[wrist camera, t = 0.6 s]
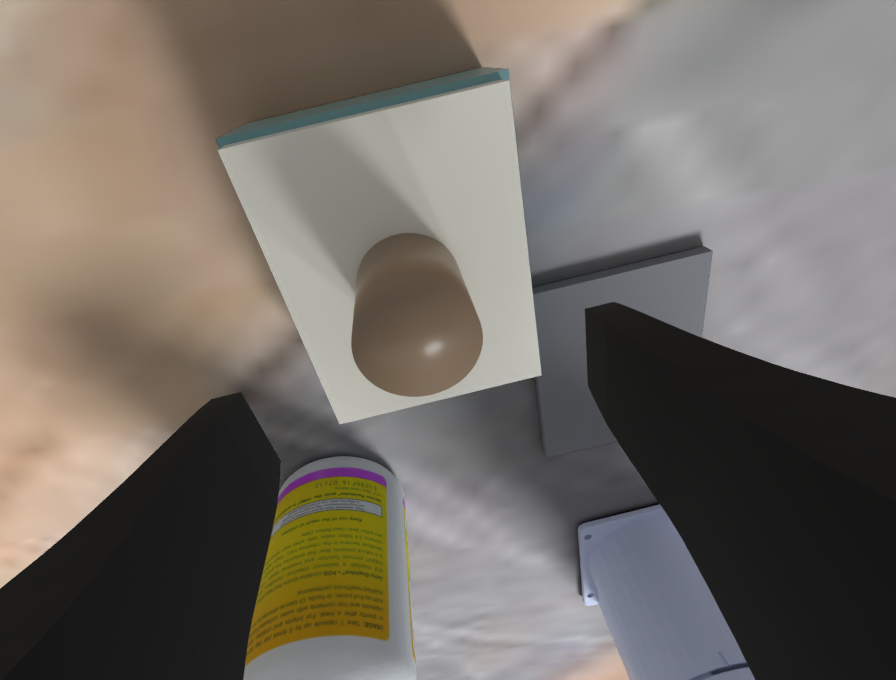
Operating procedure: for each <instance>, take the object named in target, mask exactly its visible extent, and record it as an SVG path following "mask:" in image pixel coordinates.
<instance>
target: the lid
mask: <svg viewBox="0 0 896 680" xmlns="http://www.w3.org/2000/svg"><path fill="white" fill-rule="evenodd" d="M218 153H219V155H220V157H221V159H222V162H223V164H224V166H225V168H226V171H227V173H228V175H229V177H230V180H231V182H232V184H233V186H234V189H235V191H236V193H237V195H238V198H239V200H240V202H241V204H242V206H243V209H244V211H245V213H246V215H247V218H248V220H249V222H250V224H251V227H252V229H253V231H254V233H255V236H256V238H257V240H258V242H259V245H260V247H261V249H262V251H263V254H264V256H265V258H266V260H267V263H268V265H269V267H270V269H271V272H272V274H273V276H274V278H275V281H276V283H277V285H278V287H279V289H280V292H281V294H282V296H283V298H284V301H285V303H286V305H287V307H288V310H289V312H290V314H291V316H292V319H293V321H294V323H295V325H296V328H297V330H298V332H299V334H300V337H301V339H302V341H303V343H304V346H305V348H306V350H307V352H308V355H309V357H310V359H311V361H312V364H313V366H314V368H315V370H316V372H317V375H318V377H319V379H320V381H321V384H322V386H323V388H324V390H325V393H326V395H327V397H328V399H329V402H330V404H331V406H332V408H333V411H334V413H335V415H336V417H337V420H338V422H339V424H344V423H348V422H352V421H356V420H360V419H364V418H369V417H373V416H377V415H381V414H385V413H389V412H393V411H397V410H401V409H406V408H410V407H414V406H418V405H422V404H426V403H430V402H434V401H438V400H442V399H447V398H451V397H455V396H459V395H463V394H467V393H471V392H475V391H479V390H484V389H488V388H492V387H496V386H500V385H504V384H508V383H512V382H516V381H520V380H525V379H529V378H533V377H537V376H541V375H542V374H541V365H540V356H539V347H538V338H537V329H536V319H535V310H534V301H533V292H532V283H531V274H530V265H529V256H528V246H527V237H526V228H525V219H524V210H523V201H522V192H521V182H520V173H519V164H518V155H517V146H516V137H515V128H514V119H513V109H512V100H511V91H510V82H509V80H504V79H501V80H497V81H493V82H488V83H484V84H480V85H476V86H472V87H467V88H463V89H459V90H455V91H451V92H446V93H442V94H438V95H434V96H430V97H425V98H421V99H417V100H413V101H409V102H404V103H400V104H396V105H392V106H388V107H383V108H379V109H375V110H371V111H367V112H362V113H358V114H354V115H350V116H346V117H341V118H337V119H333V120H329V121H325V122H320V123H316V124H312V125H308V126H304V127H300V128H295V129H291V130H287V131H283V132H279V133H274V134H270V135H266V136H262V137H258V138H253V139H249V140H245V141H241V142H237V143H232V144H228V145H225V146H223V147H222V148H220V149H218Z"/></svg>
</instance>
